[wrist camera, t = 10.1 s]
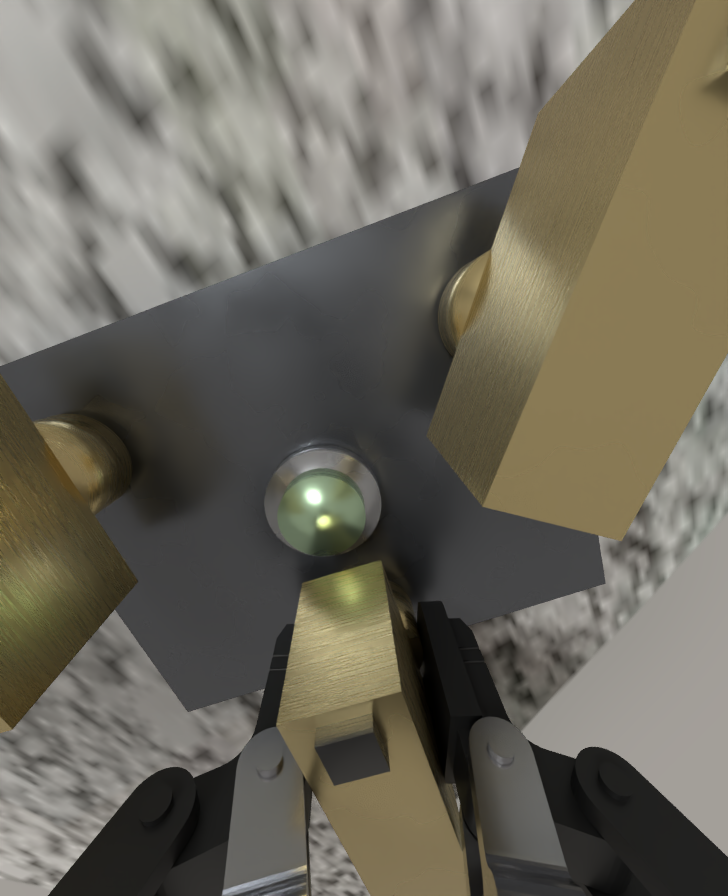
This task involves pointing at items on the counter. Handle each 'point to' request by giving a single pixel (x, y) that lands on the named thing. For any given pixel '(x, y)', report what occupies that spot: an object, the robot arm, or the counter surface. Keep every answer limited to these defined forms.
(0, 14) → the counter surface
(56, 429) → the knob
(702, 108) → the knob
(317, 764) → the bar with square hole
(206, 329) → the levelling plate
